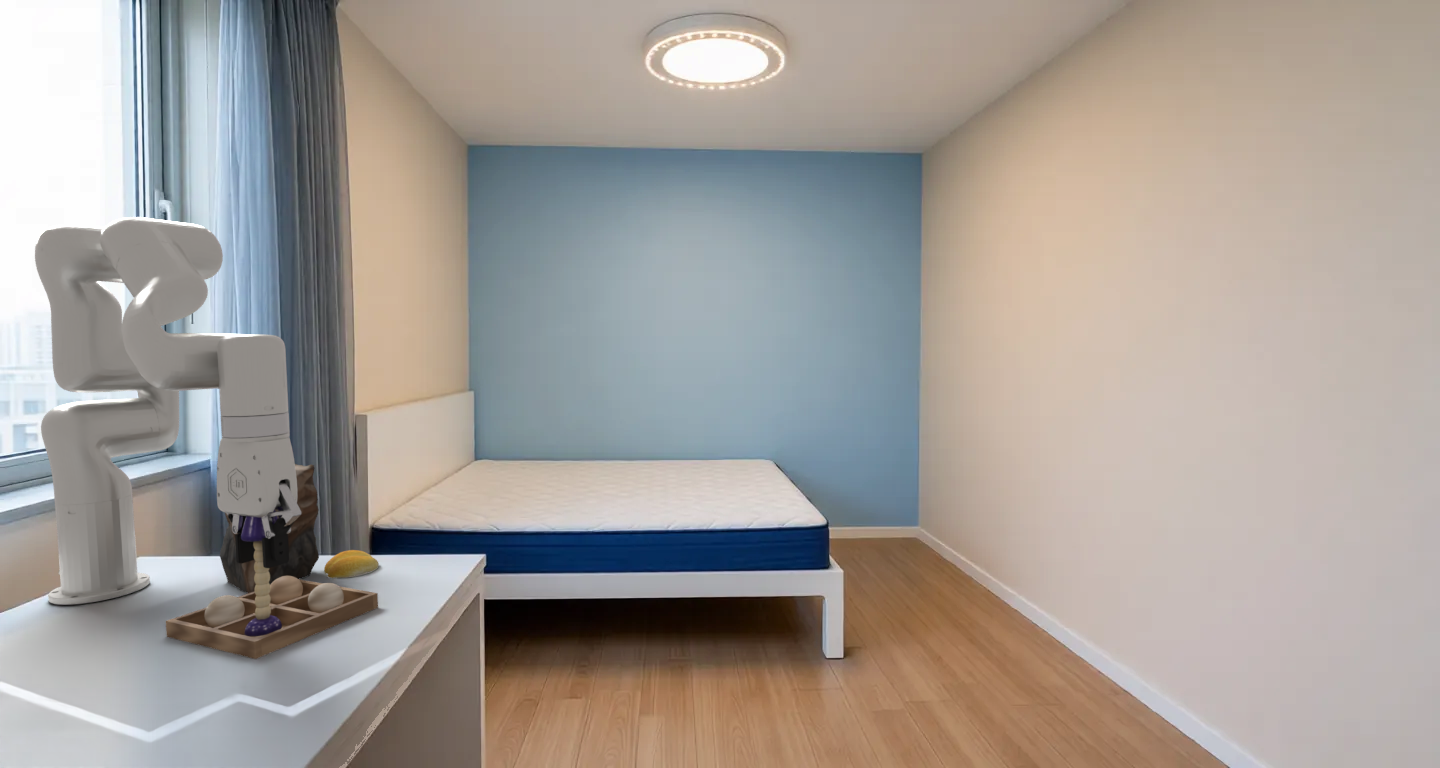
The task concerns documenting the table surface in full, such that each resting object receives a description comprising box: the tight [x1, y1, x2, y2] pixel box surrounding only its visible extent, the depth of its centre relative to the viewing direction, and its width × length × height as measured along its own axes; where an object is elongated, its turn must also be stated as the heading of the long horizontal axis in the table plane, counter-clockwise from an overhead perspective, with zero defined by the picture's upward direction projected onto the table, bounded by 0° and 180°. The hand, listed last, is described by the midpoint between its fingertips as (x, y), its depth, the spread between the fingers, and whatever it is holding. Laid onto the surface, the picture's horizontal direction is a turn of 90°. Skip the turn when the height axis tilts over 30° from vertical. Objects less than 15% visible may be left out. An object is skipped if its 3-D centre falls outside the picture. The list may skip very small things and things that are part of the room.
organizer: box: [165, 579, 379, 660], centre depth 101 cm, size 18×18×3 cm
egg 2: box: [269, 576, 303, 605], centre depth 106 cm, size 5×5×5 cm
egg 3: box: [308, 582, 344, 613], centre depth 103 cm, size 5×5×5 cm
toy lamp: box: [241, 509, 282, 637], centre depth 94 cm, size 5×5×17 cm
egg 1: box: [204, 594, 245, 628], centre depth 98 cm, size 5×5×5 cm
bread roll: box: [323, 549, 379, 579], centre depth 124 cm, size 8×9×4 cm
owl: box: [219, 463, 320, 594], centre depth 120 cm, size 13×13×20 cm
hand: (263, 561), depth 94 cm, fingers closed on toy lamp, 4 cm apart
